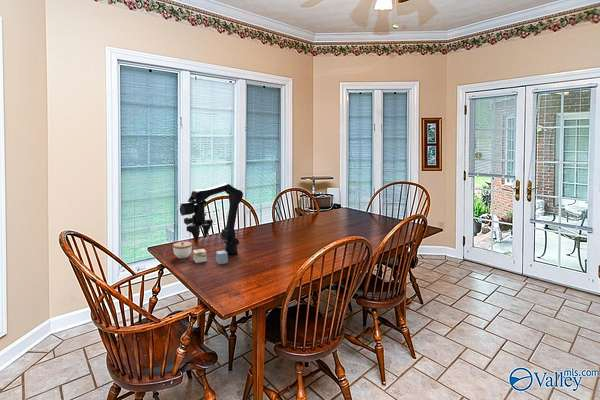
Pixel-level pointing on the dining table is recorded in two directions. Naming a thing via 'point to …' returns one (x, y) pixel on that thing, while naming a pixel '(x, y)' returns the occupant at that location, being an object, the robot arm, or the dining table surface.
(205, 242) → the dining table surface
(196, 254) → the slab top
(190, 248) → the lidded jar
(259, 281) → the dining table surface
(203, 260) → the slab bottom
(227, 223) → the robot arm
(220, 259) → the blue block
